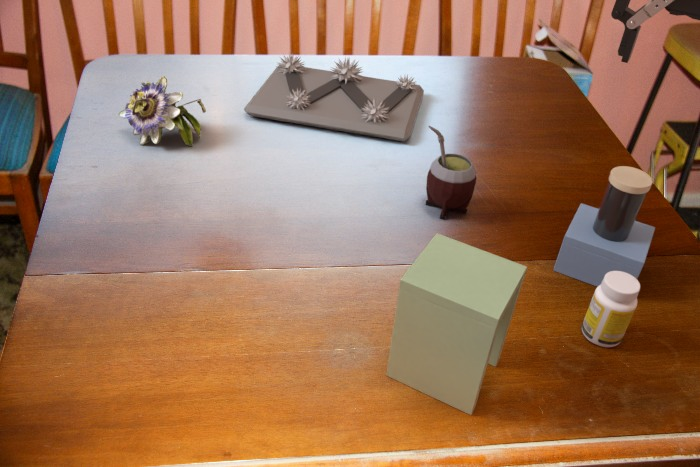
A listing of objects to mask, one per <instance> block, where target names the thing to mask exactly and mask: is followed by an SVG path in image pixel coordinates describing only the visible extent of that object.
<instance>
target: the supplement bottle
mask: <svg viewBox="0 0 700 467" xmlns="http://www.w3.org/2000/svg"><path fill="white" fill-rule="evenodd" d="M640 291H641V283H640V281H639V280H638V279H636V278H635V277H633V276H632V275H630V274H628V273H625V272H622V271H610V272H608V273H607V274H606V275H605V276H604V279H603V281H602V283H601V285H599V286H598V287H596V288H595V290H594V293H593V295H592V297H591V299H590V303H589V305H588V308H587V310H586V313H585V316H584V318H583V322H582V324H581V332H582V334H583V336H584V338H585V339H586V340H588V341H589V342H590V343H591V344H594V345H596V346H598V347H602V348H614V347H616V346H618V345H620V344H621V343H622V341H623V339H624V336H625V334H626V332H627V329H628V327H629V325H630V323H631V321H632V318H633V315H634V313H635V311H636V309H637V306H638V296H639V294H640Z"/></svg>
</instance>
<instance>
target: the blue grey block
mask: <svg viewBox="0 0 700 467" xmlns="http://www.w3.org/2000/svg"><path fill="white" fill-rule="evenodd" d="M598 210H599V208H598V207H594V206H592V205H588V204H585V203H580V204H579V206H578V208H577V209H576V213H575V214H574V215H573V218H572V220H571V222H570V224H569V226H568V228H567V230H566V232H565V234H564V237H563V240H562V242H561V246H560V248H559V251H558V254H557V257H556V261H555V263H554V266H553V271H554V272H555V273H559V274H561V275H564V276H567V277H570V278H572V279H575V280H577V281H581V282H583V283H586V284H589V285H591V286H594V287H596V288H597V287H598V286H599V285H601V283H602V281H603V279H604V276H605V275H606V274H607V273H608V272H610V271H622V272H625V273H628V274H630V275H632V276H633V277H635V278H636V279H637V280H638V279H639V277H640V274H641V272H642V270H643V267H644V265H645V263H646V260H647V256H648V252H649V250H650V246H651V243H652V240H653V236H654V233H655V230H656V227H655V226H652V225H649V224H647V223H643V222H640V221H637V220H635V222H634V225H633V227H632V230H631V232H630V234H629V237H628V238H627V239H626V240H625V241H621V242H614V241H609V240H606V239H604V238H602V237H600V236H598V235H597V234H596V233H595V232H594V230H593V224H594V221H595V218H596V216H597V213H598Z"/></svg>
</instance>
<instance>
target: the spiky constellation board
mask: <svg viewBox="0 0 700 467" xmlns="http://www.w3.org/2000/svg"><path fill="white" fill-rule="evenodd" d="M279 59H280V62H279V61H278V62H277V61H276V63H277V64H276V65H277V66H275V67H276V68H274V70H273V71H272V73H271V74H270V75H268V77H267V79H266V80H265V81H264V82H263V84H262V85H261V86H260V88H259V89H258V90H257V91H256V92H255V94H254V95H253V96H252V97H251V99H250V100H249V102H248V103H247V104H246V105H245V107H244V108H243V110H244V112H245V113H246V114H247V115H248V116H250V117H255V118H261V119H267V120H272V121H280V122H284V123H285V122H286V123H292V124H298V125H302V126H309V127H314V128H320V129H327V130H332V131H338V132H345V133H351V134H357V135H363V136H369V137H373V138H380V139H386V140H393V141H396V142H397V141H398V142H405V141H407V140H409V139H410V138H411V135H412V133H413V129H414V126H415V122H416V119H417V116H418V112H419V109H420V105H421V103H422V99H423V96H424V92H425V89H423V88H422V86H421V85H420V84H417V82H418V81H417V80H415V81H414V79H415V77H413V76H410V77H408V76H409V75H408V74H406V75H404V76H402V75H401V74H400V76H399V77H397V78H398V80H396V81H395V80H390V79H383V78H378V77H370V76H366V75H365V76H364V75H362V74H361V73H362V70H363V66H360V67H358V66H359V61H357V62H356V59H354V60H353V61H352V62H351V61H350V57H348V58H347V57H346V56H344V61H343V62H342V60H341V59H340V58H339V57H338V60H337V61H338V62H336V61H335V60H334V63H335V65H334V67H331V66H330V69H329V70H327V69H320V68H313V67H307V66H305V61H302V59H301V57H299V56H298V55H296V56H295V57H294V54H291V53H288V56H285V54H284V53H283V58H282V57H279Z"/></svg>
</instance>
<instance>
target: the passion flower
mask: <svg viewBox="0 0 700 467" xmlns="http://www.w3.org/2000/svg"><path fill="white" fill-rule="evenodd" d="M141 85H142V86H140V87H141V88H140V89H138V88H136V89H135V90H134V91H132V94H130V95H129V96H130V98H129V102H126V104H125V107H124V109H123V110H120V111H119V113H118V116H119V117H120V118H122V119H127V121H128V124H129V125H130V126H131V127H132V128H133V136H140V142H139V145H142V146H143V145H147V143H149V141H150V139H151V142H152V143H153V144H154V145H157V144H159V143H160V142H161V140H162V137H163V136H162V135H163V129H165V130H168V131H173V130H174V129H175V128H177V129H178V130H177V131H178V133H179V134H180V137H181V139H182V141H183V143H184V144H185V145H186V146H190V147H193V144H194V142H193V141H194V136H193V135H194V134H193V129H194V131H195V133H196V134H197V136H198V139H201V133H202V127H201V124H200V121H198V119H197V117H195V116H194V115H193V114H191V113H190V112H189V111H188V110H187V108H185V107H184V106H185V105H190V104H192V103H195V102H196V103H197V104H198V105H199V106H200V108H201V111H202V114H205V113H206V112H207V111H206V110H207V109H206V107H205V105H204V103H203V102H202V98H199V99H195V100H192V101H189V102H186V103H184V104H182V105H178V106H176V105H177V103H179V102H181V100H183V97H184V93H183V92H180V91H179V92H177V91H176V92H171V93H167V92H166V91H167V86H168V79H167V78H166V76H165V75H164V76H161V77H160V78H159V79H158V80H157V82H155V83H154V82H151V81H146V83H145V82H141ZM189 124H190V125H191V126H190V125H189ZM192 128H193V129H192Z"/></svg>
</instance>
